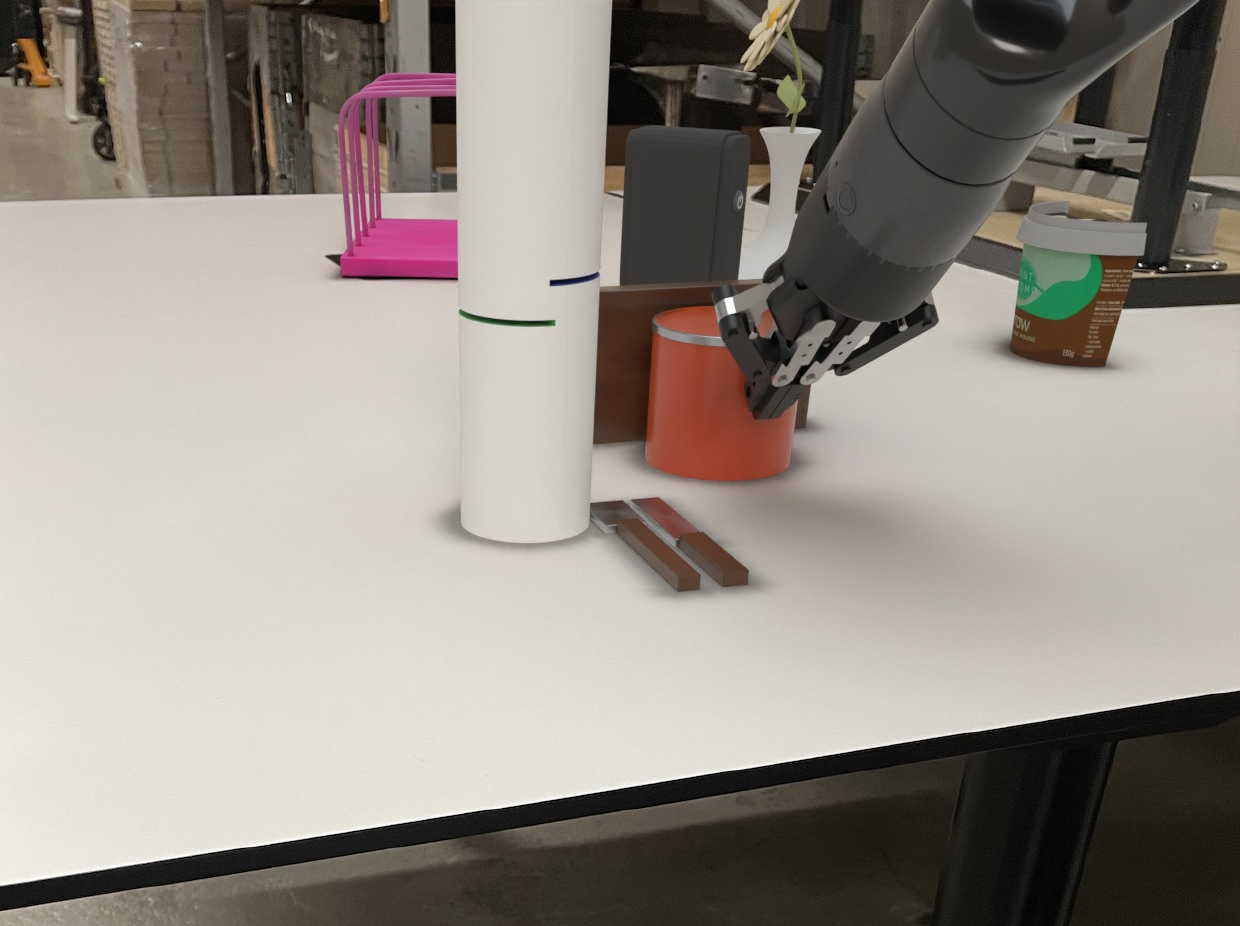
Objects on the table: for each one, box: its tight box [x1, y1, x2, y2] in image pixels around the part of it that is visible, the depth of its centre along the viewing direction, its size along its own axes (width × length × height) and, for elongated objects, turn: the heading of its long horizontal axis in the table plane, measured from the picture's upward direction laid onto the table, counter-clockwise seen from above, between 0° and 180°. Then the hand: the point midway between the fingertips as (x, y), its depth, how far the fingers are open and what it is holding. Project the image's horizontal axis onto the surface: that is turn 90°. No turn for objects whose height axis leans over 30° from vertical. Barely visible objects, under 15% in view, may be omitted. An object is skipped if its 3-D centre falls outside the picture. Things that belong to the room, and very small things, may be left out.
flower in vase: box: [738, 0, 822, 280], centre depth 116 cm, size 13×11×25 cm
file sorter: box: [337, 72, 458, 279], centre depth 140 cm, size 17×25×16 cm
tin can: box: [644, 306, 798, 482], centre depth 86 cm, size 9×9×8 cm
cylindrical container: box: [454, 0, 613, 544], centre depth 71 cm, size 7×7×25 cm
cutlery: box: [590, 496, 750, 593], centre depth 75 cm, size 13×5×1 cm, turn 16°
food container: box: [1009, 200, 1148, 368], centre depth 109 cm, size 12×6×10 cm, turn 10°
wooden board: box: [593, 279, 812, 445], centre depth 90 cm, size 16×2×9 cm, turn 106°
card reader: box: [619, 124, 752, 286], centre depth 109 cm, size 9×4×15 cm, turn 57°
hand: (761, 405), depth 81 cm, fingers closed
